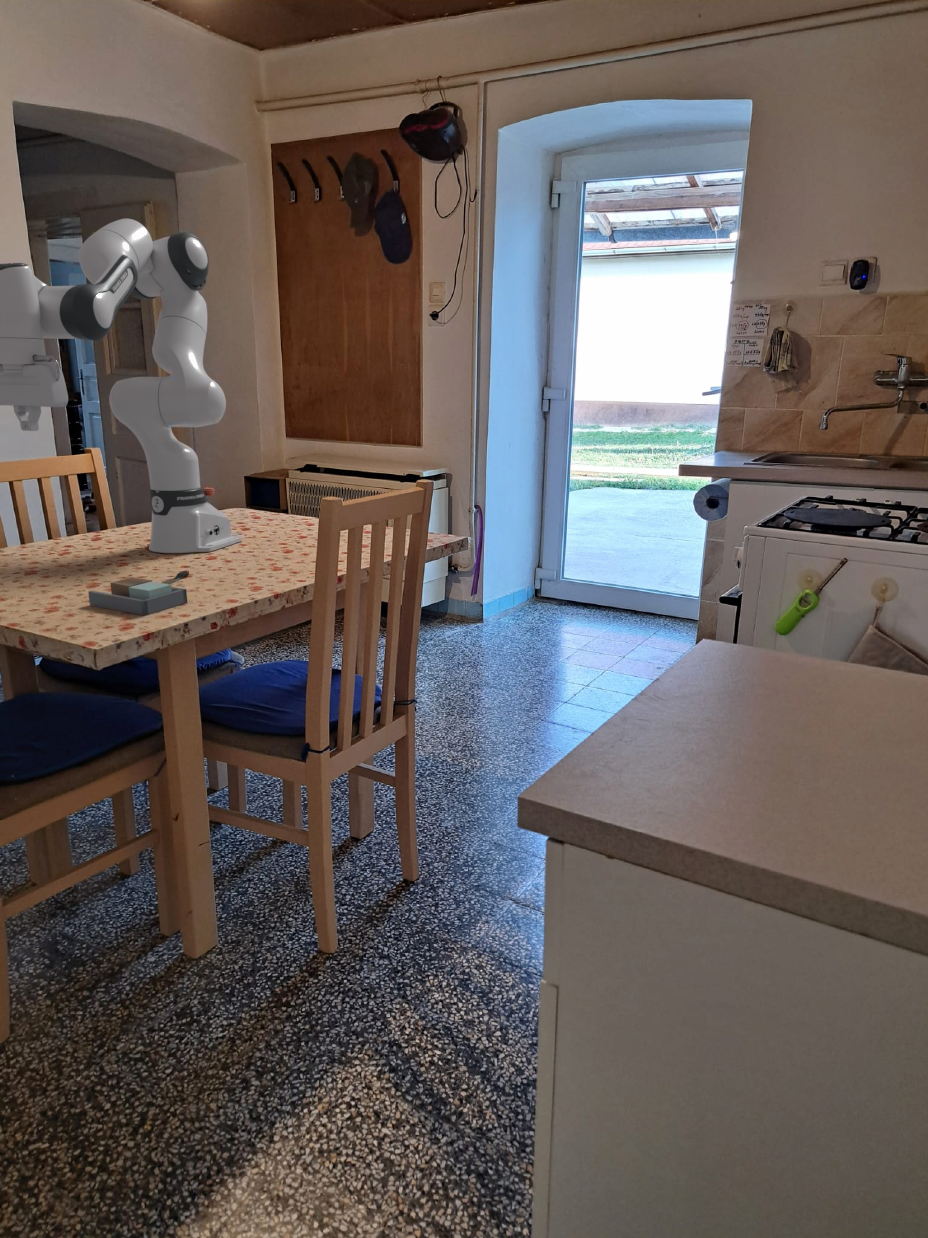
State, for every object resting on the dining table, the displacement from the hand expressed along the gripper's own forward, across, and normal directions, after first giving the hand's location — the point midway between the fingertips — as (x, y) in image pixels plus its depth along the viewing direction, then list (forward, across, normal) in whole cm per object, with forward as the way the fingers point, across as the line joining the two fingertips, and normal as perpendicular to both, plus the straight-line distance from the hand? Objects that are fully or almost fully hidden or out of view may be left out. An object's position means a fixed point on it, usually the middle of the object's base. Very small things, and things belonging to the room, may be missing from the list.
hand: (30, 430), depth 162 cm
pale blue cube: (+29, -34, +5) cm, 46 cm away
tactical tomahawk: (+30, -26, -6) cm, 40 cm away
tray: (+29, -31, +5) cm, 43 cm away
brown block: (+29, -29, +5) cm, 42 cm away
